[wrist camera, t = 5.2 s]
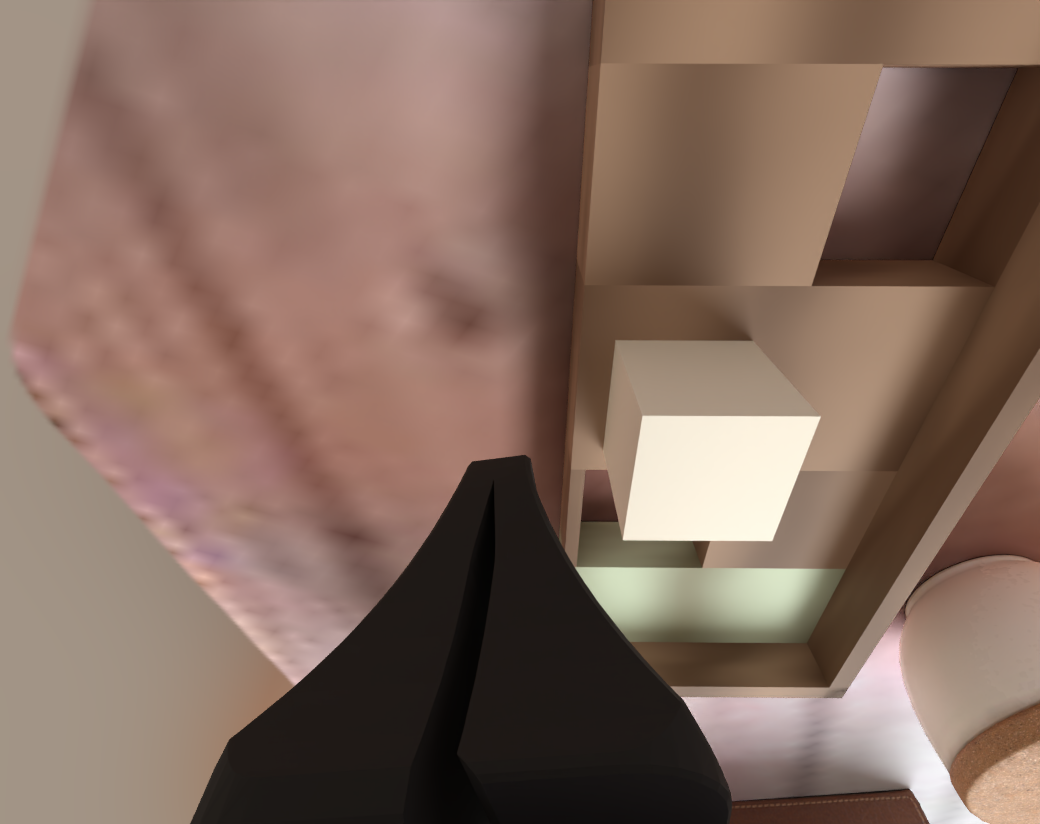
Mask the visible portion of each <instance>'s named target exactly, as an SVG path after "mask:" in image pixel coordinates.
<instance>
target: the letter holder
mask: <svg viewBox="0 0 1040 824" xmlns="http://www.w3.org/2000/svg"><path fill="white" fill-rule="evenodd" d="M730 824H929V822H928V820H927V818H926V816H925V814H924V812H923V810H922V808H921V806H920V803H919V802H918V800H917V799H916V798H915V796H914V794H913V793H912V791H910V790H909V789H904V790H892V791H879V792H865V793H851V794H837V795H823V796H808V797H794V798H778V799H763V800H748V801H733V802H732V811H731V817H730Z"/></svg>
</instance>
